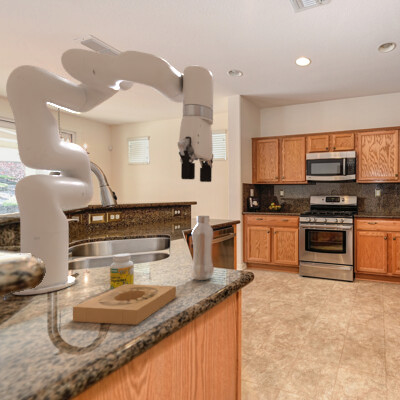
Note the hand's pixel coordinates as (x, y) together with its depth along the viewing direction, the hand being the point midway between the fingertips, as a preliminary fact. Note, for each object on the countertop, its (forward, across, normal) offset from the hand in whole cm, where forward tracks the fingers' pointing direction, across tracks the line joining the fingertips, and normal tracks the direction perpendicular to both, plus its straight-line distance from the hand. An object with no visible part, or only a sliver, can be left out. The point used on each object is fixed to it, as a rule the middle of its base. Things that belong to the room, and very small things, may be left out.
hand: (197, 180), depth 68 cm
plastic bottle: (+31, -12, -4) cm, 33 cm away
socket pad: (+30, +10, -11) cm, 34 cm away
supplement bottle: (+31, -1, -22) cm, 38 cm away
